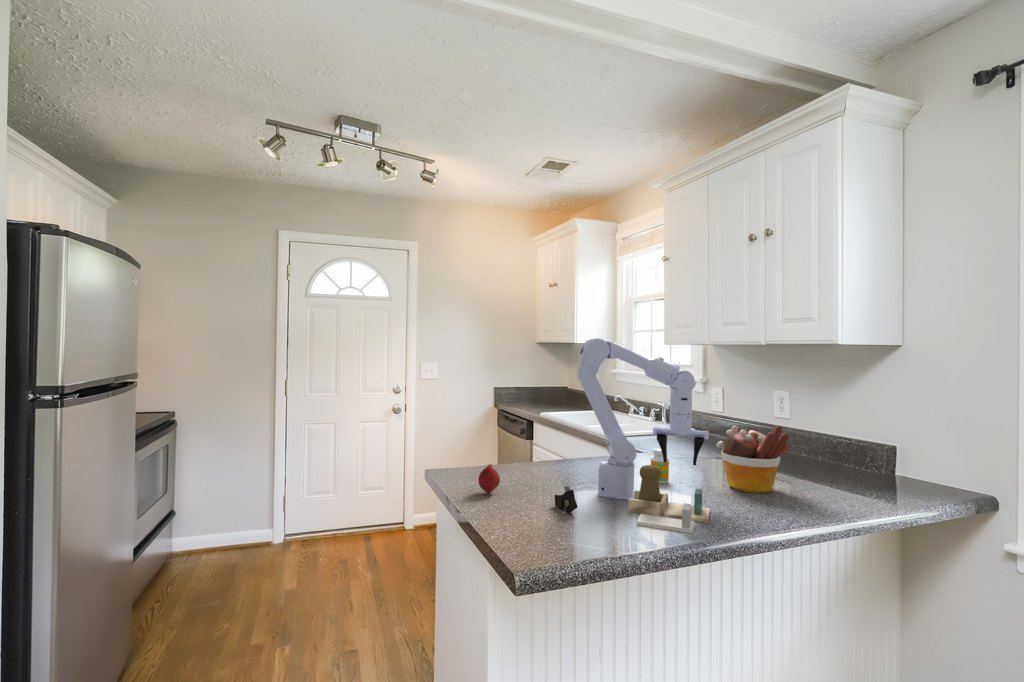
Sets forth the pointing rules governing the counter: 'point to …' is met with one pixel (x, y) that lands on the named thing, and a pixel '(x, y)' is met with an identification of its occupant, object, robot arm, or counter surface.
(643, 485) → the cork
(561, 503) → the black angular piece
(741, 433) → the bucket of meat
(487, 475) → the onion
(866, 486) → the counter surface
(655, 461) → the supplement bottle
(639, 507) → the cream slotted holder
